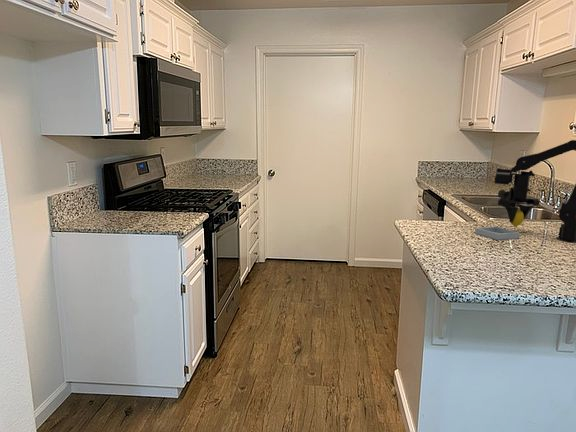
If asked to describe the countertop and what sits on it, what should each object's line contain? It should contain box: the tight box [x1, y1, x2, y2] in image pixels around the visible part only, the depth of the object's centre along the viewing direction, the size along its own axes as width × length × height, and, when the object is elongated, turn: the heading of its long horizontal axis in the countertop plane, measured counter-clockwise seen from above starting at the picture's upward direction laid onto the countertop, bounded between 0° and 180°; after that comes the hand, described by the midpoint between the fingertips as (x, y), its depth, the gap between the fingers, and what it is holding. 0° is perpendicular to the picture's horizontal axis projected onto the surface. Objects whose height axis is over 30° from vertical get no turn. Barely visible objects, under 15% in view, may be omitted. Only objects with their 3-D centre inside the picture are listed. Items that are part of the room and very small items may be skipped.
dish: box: [474, 226, 521, 241], centre depth 187 cm, size 12×12×2 cm
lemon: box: [509, 208, 525, 228], centre depth 193 cm, size 6×6×8 cm
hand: (516, 221), depth 193 cm, fingers closed on lemon, 5 cm apart
